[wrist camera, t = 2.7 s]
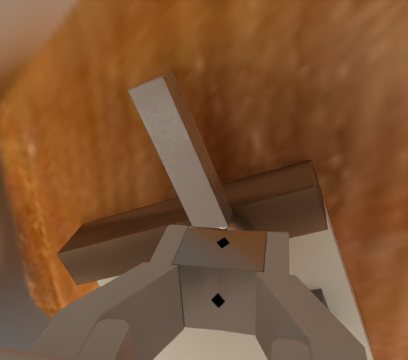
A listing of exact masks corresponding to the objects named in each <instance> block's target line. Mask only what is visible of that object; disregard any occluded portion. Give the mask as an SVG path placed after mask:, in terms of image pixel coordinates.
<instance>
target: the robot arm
mask: <svg viewBox="0 0 408 360" xmlns="http://www.w3.org/2000/svg"><path fill="white" fill-rule="evenodd" d="M184 327H188V328H199V329H210V330H221V331H227V332H234V333H241V334H248V335H255V336H256V339H257V341H258V343H259V345H260V346H261V348H262V350H263V352H264V354H265V356H266V358H267V359H268V360H367V356H366V351H365V347H364V346H363V345H362V344H361V343H360V342H359V341H358V340H357V339H356V338H355V337H354V336H353V335H352V333H351V332H350V331H349V330H348V329H347V328H346V327H345V326H344V325H343V324H342V323H341V322H340V321H339V320H338V319H337V318H336V317H335V316H334V315H333V314H332V313H331V312H330V311H329V310H328V308H327V307H326V306H325V305H324V304H323V303H322V302H321V301H320V300H319V299H318V298H317V297H316V296H315V295H314V294H313V293H312V292H311V291H310V290H309V289H308V288H307V287H306V286H305V285H304V284H303V282H302V281H301V280H300V279H299V278H298V277H297V276H296V275H289V233H288V232H271V231H268V232H265V231H242V230H228V229H219V228H207V227H196V226H184V225H169V226H168V227H167V228H166V230H165V232H164V234H163V236H162V238H161V240H160V242H159V244H158V246H157V248H156V250H155V252H154V254H153V256H152V258H151V260H150V262H149V263H147V262H143V263H141V264H140V265H138V266H136V267H134V268H133V269H131V270H129V271H127V272H126V273H124V274H122V275H120V276H119V277H117V278H115V279H113V280H112V281H110V282H108V283H106V284H105V285H103V286H101V287H99V288H98V289H96V290H94V291H92V292H91V293H89V294H87V295H85V296H84V297H82V298H80V299H79V300H77V301H75V302H73V303H72V304H70V305H68V306H66V307H65V308H63V309H61V310H59V311H58V313H57V314H56V315H55V317H54V318H53V320H52V321H51V322H50V324H49V325H48V327H47V328H46V330H45V331H44V332H43V334H42V335H41V337H40V338H39V339H38V341H37V342H36V344H35V345H34V347H33V348H32V349H31V351H30V352H27V351H19V350H12V349H5V348H0V360H153V359H154V358H155V357H156V356H157V355H158V354H159V353H160V352H161V351H162V350H163V349H164V348H165V347H166V346H167V345H168V344H169V343H170V342H171V341H172V340H173V339H175V338H176V337H177V336H178V335H179V334H180V333H181V332H182V331H183V330H184Z"/></svg>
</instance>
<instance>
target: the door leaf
mask: <svg viewBox="0 0 408 360" xmlns="http://www.w3.org/2000/svg"><path fill="white" fill-rule="evenodd" d="M323 200H324V199H323ZM324 206H325V212H326V218H327V225H328V230H324V231H320V232H315V233H311V234H306V235H302V236H297V237H293V238H289V275H296V276H297V277H298V278H299V279H300V280H301V281H302V282H303V284H304V285H305V286H306V287H307V288H308V289H309V290H310V291H311V292H312V293H313V294H314V295H315V296H316V297H317V298H318V299H319V300H320V301H321V302H322V303H323V304H324V305H325V306H326V307H327V308H328V310H329V311H330V312H331V313H332V314H333V315H334V316H335V317H336V318H337V319H338V320H339V321H340V322H341V323H342V324H343V325H344V326H345V327H346V328H347V329H348V330H349V331H350V332H351V333H352V335H353V336H354V337H355V338H356V339H357V340H358V341H359V342H360V343H361V344H362V345H363V346H364V347H365V351H366V356H367V360H374V359H373V355H372V350H371V346H370V342H369V339H368V336H367V332H366V329H365V326H364V323H363V320H362V317H361V314H360V311H359V308H358V305H357V301H356V298H355V295H354V292H353V289H352V286H351V283H350V280H349V277H348V274H347V270H346V267H345V264H344V261H343V258H342V255H341V252H340V249H339V246H338V242H337V239H336V236H335V233H334V230H333V227H332V224H331V221H330V218H329V215H328V211H327V208H326V205H325V202H324ZM117 277H119V276H116V277H111V278H107V279H102V280H97V282H98V284H99V285H100V287H101V286H103V285H105V284H106V283H108V282H110V281H112V280H113V279H115V278H117ZM153 360H268V359H267V358H266V356H265V354H264V352H263V350H262V348H261V346H260V345H259V343H258V341H257V339H256V336H255V335H248V334H241V333H234V332H227V331H221V330H210V329H199V328H188V327H184V330H183V331H182V332H181V333H180V334H179V335H178V336H177V337H176V338H175V339H173V340H172V341H171V342H170V343H169V344H168V345H167V346H166V347H165V348H164V349H163V350H162V351H161V352H160V353H159V354H158V355H157V356H156V357H155V358H154V359H153Z"/></svg>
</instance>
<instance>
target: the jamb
mask: <svg viewBox="0 0 408 360" xmlns="http://www.w3.org/2000/svg"><path fill="white" fill-rule="evenodd" d="M222 188H223V190H224V192H225V195H226V197H227V199H228V202H229V204H230V207H231V209H232V211H233V212H232V214H233V215H236V216H238V217H240V218H241V219H243V220H244V221H245V222H246V223H247V225H248V226H249V228H250V230H251V231H265V232H268V231H271V232H288V233H289V238H293V237H297V236H302V235H306V234H311V233H315V232H320V231H324V230H328V225H327V218H326V212H325V206H324V200H323V196H322V193H321V190H320V187H319V184H318V180H317V177H316V174H315V171H314V168H313V165H312V162H311V160H309V161H305V162H302V163H298V164H295V165H291V166H288V167H284V168H280V169H277V170H273V171H270V172H266V173H263V174H259V175H256V176H252V177H249V178H245V179H242V180H238V181H235V182H231V183H228V184H224V185H222ZM169 225H184V226H192V224H191V222H190V220H189V218H188V216H187V214H186V211H185V209H184V207H183V205H182V203H181V201H180V199H179V197H178V198H175V199H171V200H168V201H164V202H161V203H157V204H154V205H150V206H147V207H143V208H140V209H136V210H133V211H129V212H126V213H122V214H119V215H115V216H111V217H108V218H104V219H101V220H97V221H94V222H90V223H87V224H83V225H82V226H81V227H80V228H79V229H78V230H77V232H76V233H75V234H74V235H73V236H72V237H71V238H70V240H69V241H68V242H67V243H66V244H65V245H64V246H63V248H62V249H61V250H60V251H59V252H58V253H57V255H58V256H59V258H60V259H61V261H62V262H63V264H64V266H65V267H66V269H67V270H68V272H69V273H70V275H71V276H72V278H73V280H74V281H75V283H76V284H77V285H79V284H84V283H88V282H93V281H97V280H102V279H107V278H111V277H116V276H120V275H122V274H124V273H126V272H127V271H129V270H131V269H133V268H134V267H136V266H138V265H140V264H141V263H143V262H147V263H149V262H150V260H151V258H152V256H153V254H154V252H155V250H156V248H157V246H158V244H159V242H160V240H161V238H162V236H163V234H164V232H165V230H166V228H167V227H168V226H169Z"/></svg>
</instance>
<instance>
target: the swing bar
mask: <svg viewBox="0 0 408 360" xmlns="http://www.w3.org/2000/svg"><path fill="white" fill-rule="evenodd" d="M128 91H129V94H130V96H131V98H132V100H133V102H134V104H135V106H136V108H137V110H138V112H139V115H140V117H141V119H142V121H143V123H144V125H145V127H146V129H147V131H148V134H149V136H150V138H151V140H152V142H153V144H154V146H155V148H156V150H157V152H158V155H159V157H160V159H161V161H162V163H163V165H164V167H165V169H166V171H167V174H168V176H169V178H170V180H171V182H172V184H173V186H174V188H175V190H176V192H177V195H178V197H179V199H180V201H181V203H182V205H183V207H184V209H185V211H186V214H187V216H188V218H189V220H190V222H191V224H192V226H196V227H207V228H219V229H228V230H242V231H251V230H250V228H249V226H248V225H247V223H246V222H245V221H244V220H243V219H241V218H240V217H238V216H236V215H233V214H232V212H233V211H232V209H231V207H230V204H229V202H228V199H227V197H226V195H225V192H224V190H223V188H222V185H221V183H220V181H219V178H218V176H217V174H216V171H215V169H214V166H213V164H212V162H211V159H210V157H209V155H208V152H207V150H206V148H205V145H204V143H203V141H202V138H201V136H200V133H199V131H198V129H197V126H196V124H195V122H194V119H193V117H192V115H191V112H190V110H189V108H188V105H187V103H186V100H185V98H184V96H183V93H182V91H181V89H180V86H179V84H178V82H177V79H176V77H175V75H174V72H173V70H170V71H168V72H166V73H163V74H161V75H158V76H156V77H153V78H151V79H149V80H146V81H144V82H141V83H139V84H138V85H136V86H135V87H133V88H131V89H130V90H128Z"/></svg>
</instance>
